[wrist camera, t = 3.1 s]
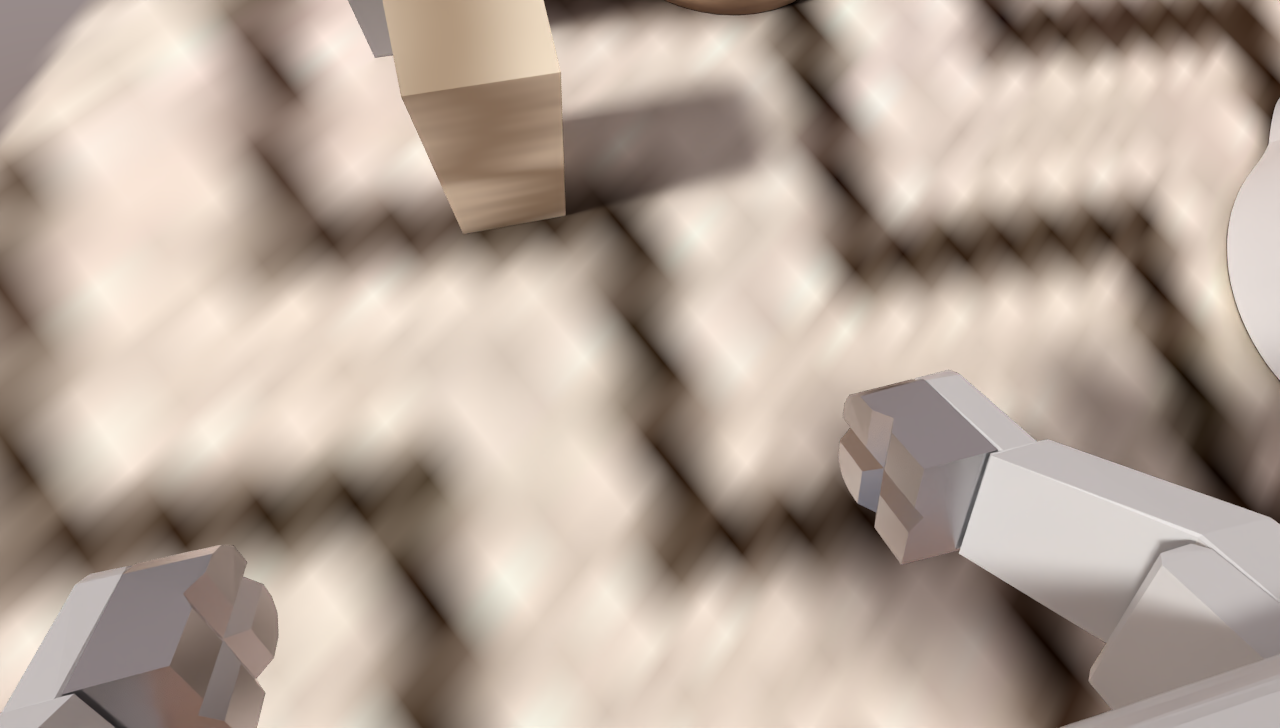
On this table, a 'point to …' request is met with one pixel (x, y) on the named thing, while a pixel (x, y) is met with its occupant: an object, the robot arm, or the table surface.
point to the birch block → (484, 104)
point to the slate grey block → (373, 25)
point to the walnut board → (732, 5)
